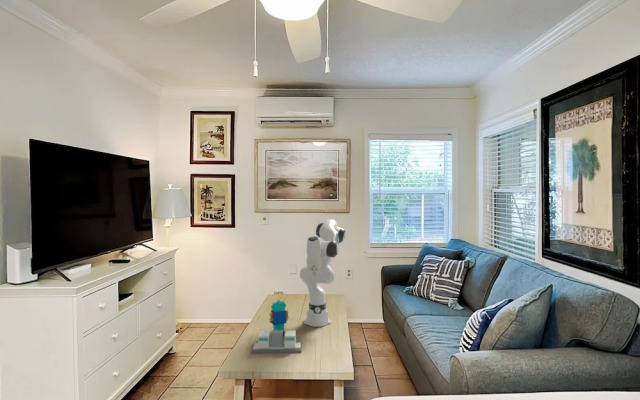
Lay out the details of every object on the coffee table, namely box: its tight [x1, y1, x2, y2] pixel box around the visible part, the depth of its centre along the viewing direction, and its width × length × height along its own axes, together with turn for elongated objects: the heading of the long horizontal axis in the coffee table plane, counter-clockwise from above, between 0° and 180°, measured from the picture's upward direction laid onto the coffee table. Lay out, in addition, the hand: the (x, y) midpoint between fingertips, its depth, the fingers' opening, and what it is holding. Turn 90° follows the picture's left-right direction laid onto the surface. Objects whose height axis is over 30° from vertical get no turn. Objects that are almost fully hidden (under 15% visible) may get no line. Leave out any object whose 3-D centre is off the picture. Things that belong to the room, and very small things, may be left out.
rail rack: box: [251, 329, 303, 354], centre depth 208 cm, size 11×28×9 cm, turn 91°
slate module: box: [271, 329, 284, 347], centre depth 208 cm, size 4×6×8 cm
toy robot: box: [269, 296, 289, 337], centre depth 227 cm, size 12×6×25 cm, turn 111°
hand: (314, 286), depth 216 cm, fingers open, 8 cm apart
